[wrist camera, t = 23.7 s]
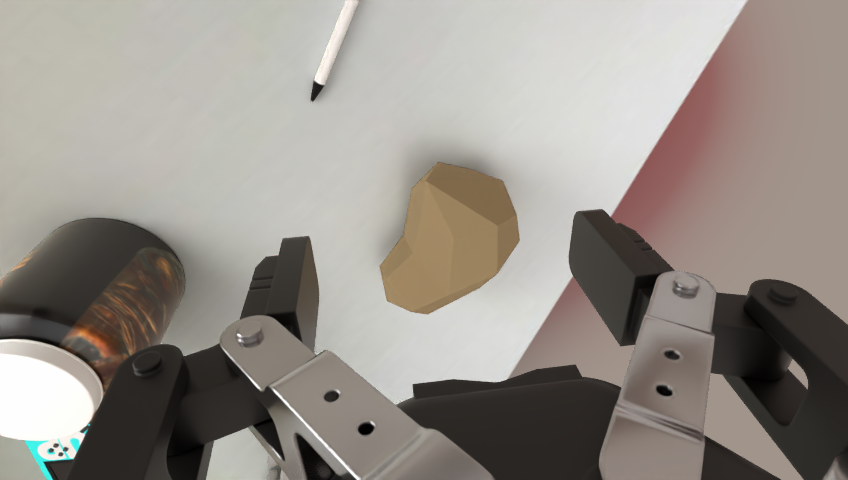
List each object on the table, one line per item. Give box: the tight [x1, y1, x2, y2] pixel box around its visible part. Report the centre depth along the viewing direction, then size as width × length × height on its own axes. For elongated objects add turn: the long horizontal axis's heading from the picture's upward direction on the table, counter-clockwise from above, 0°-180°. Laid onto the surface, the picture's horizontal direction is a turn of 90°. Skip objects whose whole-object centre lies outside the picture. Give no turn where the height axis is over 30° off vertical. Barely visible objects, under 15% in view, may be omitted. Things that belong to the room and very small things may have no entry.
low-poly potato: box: [380, 162, 520, 314], centre depth 42 cm, size 15×11×12 cm
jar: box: [0, 218, 185, 441], centre depth 39 cm, size 12×12×15 cm
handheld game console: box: [24, 424, 90, 480], centre depth 56 cm, size 10×16×1 cm, turn 178°
